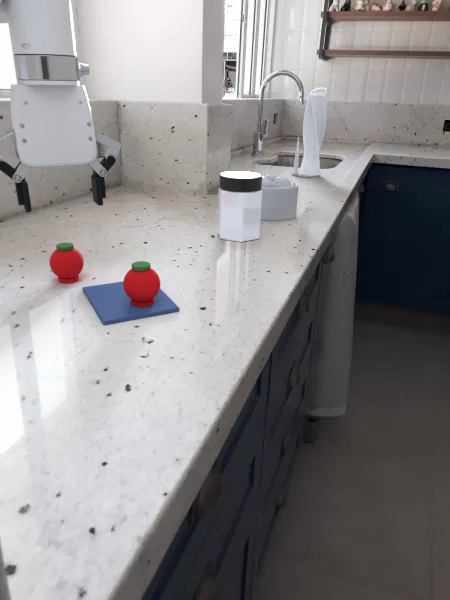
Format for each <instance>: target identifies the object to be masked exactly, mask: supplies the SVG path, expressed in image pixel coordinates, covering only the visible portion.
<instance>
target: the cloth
mask: <svg viewBox="0 0 450 600" xmlns="http://www.w3.org/2000/svg"><path fill="white" fill-rule="evenodd" d="M123 281H124V280H123ZM123 281H116V282H109V283H102V284H95V285H89V286H83V287H82V292H83V293H84V295H85V297H86V298H87V300H88V301H89V304H90V305H91V306H92V308H93V310H94V311H95V314H96V315H97V316H98V318H99V319H100V322H101V323H102V324H103V325H104V326H107V325H111V324H116V323H122V322H126V321H132V320H133V321H134V320H138V319H139V320H140V319H144V318H149V317H154V316H155V317H156V316H160V315H161V316H162V315H165V314H172V313H177V312H180V307H179V306H178V305H177V304H176V303H175V302H174V301H173V300H172V299H171V298H170V296H168V294H166V293H165V291H164V290H162V289H161V288H160V290H159V292H158V294H157V295H156V296H155V297H154V304H153V305H151V306H148V307H135V306H133V305H132V304H131V298H129V297H128V296H127V294H126V293H125V291H124V287H123Z"/></svg>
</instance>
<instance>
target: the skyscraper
mask: <svg viewBox="0 0 450 600" xmlns="http://www.w3.org/2000/svg"><path fill="white" fill-rule="evenodd" d="M317 90H325V91H324V92H317ZM327 92H328V87H324V86H319V87H316V88H313V89H312V90H311V91H310V92H309V94H308V96H307V100H306V104H305V108H304V115H303V121H302V142H303V143H302V144H303V151H304V153H303V156H302V160H301V164H300V163H299V160H300V159H299V158H300V149H299V147H300V136H297V142H296V149H295V150H294V160H293V161H294V162H293V172H292V173H291V176H294V177H300V178H304V179H311V178H319V177H321V162H320V161H321V160H320V149H321V147H322V144H323V140H324V137H325V133H326V127H327V118H328V116H327V115H328V114H327V112H328V104H327V102H328V101H327ZM299 166H300V167H299Z"/></svg>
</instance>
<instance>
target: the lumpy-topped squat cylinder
mask: <svg viewBox="0 0 450 600" xmlns="http://www.w3.org/2000/svg"><path fill="white" fill-rule="evenodd" d="M261 191H262V206H261V221H288V220H293V219H295V218H296V217H297V211H298V210H297V209H298V196H299V185H298V184H296V183H295V182H292V181H290V179H289V178H287V177H285V176H276V175H275V174H266V175H265V176H264V175H262V187H261Z"/></svg>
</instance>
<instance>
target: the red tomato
mask: <svg viewBox="0 0 450 600" xmlns="http://www.w3.org/2000/svg"><path fill="white" fill-rule="evenodd" d="M55 247H56V249H54V251H53V252H52V253H51V255H50V258H49V267H50V270H51V271H52V273H53V274H54V275H55V276H57V281H58V282H59V283H61V284H72V283H76V282H78V281H79V280H80V274H81V273H82V271H83V268H84V264H85V262H84V258H83V256H82V254H81V252H80V251H79V250H78V249H76V248H75V245H74V243H72V242H60V243H57V244H56V245H55Z"/></svg>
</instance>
